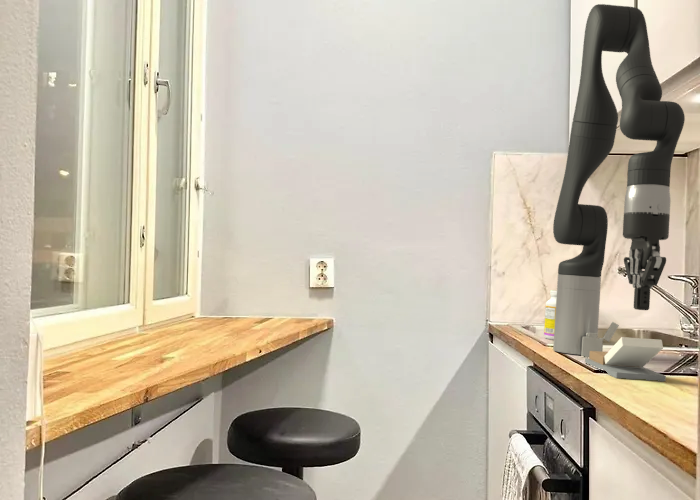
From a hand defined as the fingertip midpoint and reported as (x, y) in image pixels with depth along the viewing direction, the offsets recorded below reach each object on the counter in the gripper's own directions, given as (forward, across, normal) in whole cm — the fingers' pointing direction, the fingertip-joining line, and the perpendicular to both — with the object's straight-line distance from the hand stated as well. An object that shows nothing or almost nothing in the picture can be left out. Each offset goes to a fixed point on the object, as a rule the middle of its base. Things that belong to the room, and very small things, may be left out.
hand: (641, 309), depth 122 cm
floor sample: (+12, -7, 0) cm, 14 cm away
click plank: (+9, -2, 0) cm, 9 cm away
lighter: (+12, -25, +2) cm, 28 cm away
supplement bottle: (+12, -60, +3) cm, 61 cm away
